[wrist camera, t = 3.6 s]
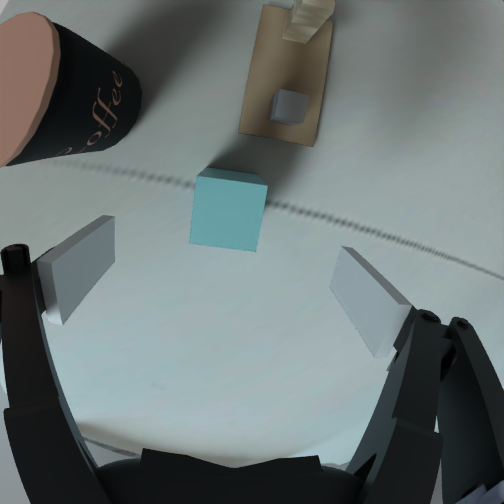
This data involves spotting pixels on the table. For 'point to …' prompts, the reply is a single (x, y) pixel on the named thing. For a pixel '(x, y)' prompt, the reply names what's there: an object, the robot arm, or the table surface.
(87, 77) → the coffee jar
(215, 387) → the table surface
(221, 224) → the teal rectangular block
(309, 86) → the stand
